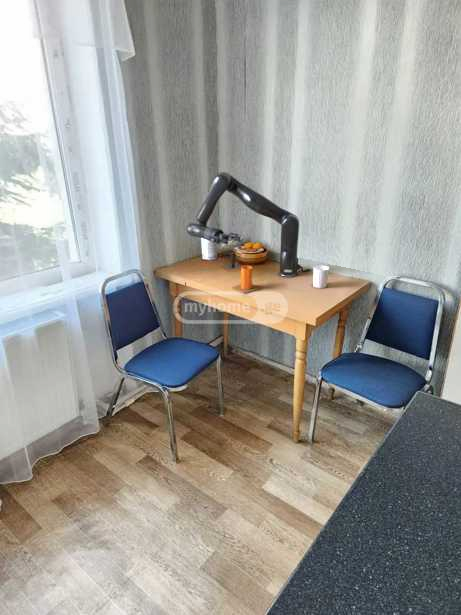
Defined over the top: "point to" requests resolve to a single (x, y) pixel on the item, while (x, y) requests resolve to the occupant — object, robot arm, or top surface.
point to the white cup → (320, 276)
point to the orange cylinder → (246, 277)
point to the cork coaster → (246, 290)
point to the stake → (232, 262)
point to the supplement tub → (208, 249)
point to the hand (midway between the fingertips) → (233, 240)
